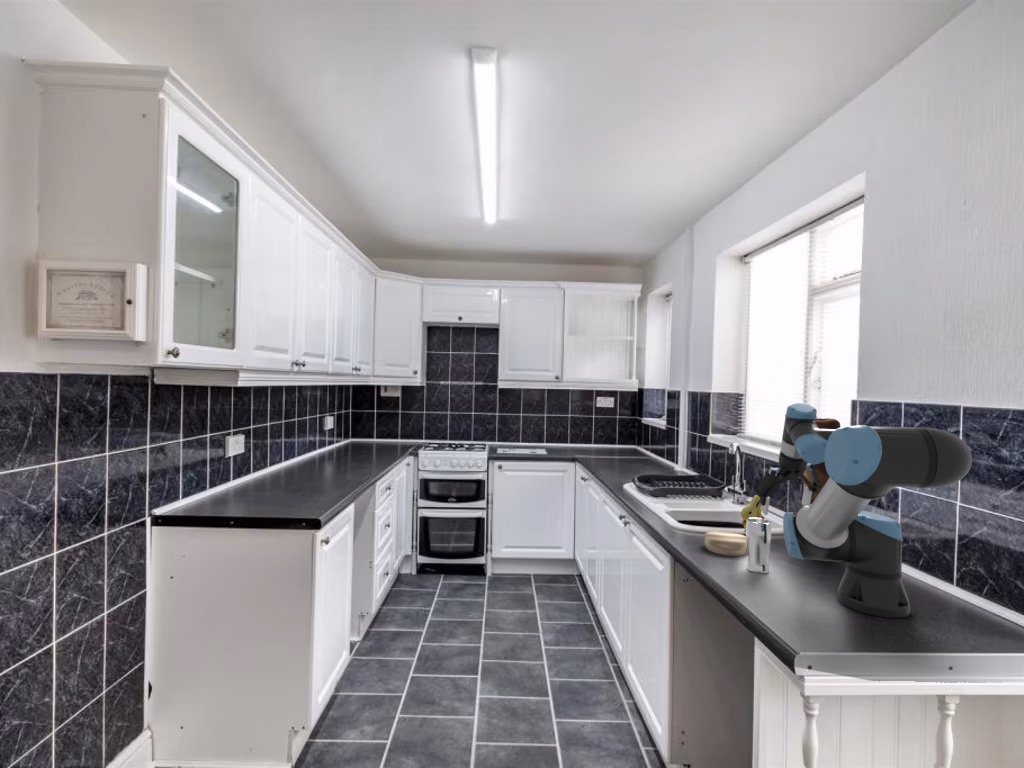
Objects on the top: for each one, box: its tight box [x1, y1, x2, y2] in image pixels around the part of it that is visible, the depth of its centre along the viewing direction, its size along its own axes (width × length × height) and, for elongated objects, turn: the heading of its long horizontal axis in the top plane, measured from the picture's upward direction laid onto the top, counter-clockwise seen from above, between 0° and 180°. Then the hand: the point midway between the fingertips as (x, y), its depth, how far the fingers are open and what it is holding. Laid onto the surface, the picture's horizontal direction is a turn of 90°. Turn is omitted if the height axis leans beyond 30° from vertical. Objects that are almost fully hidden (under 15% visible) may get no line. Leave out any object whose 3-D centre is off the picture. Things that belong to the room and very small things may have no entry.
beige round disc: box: [704, 530, 748, 557], centre depth 174 cm, size 14×14×4 cm
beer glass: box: [746, 518, 772, 575], centre depth 154 cm, size 7×7×15 cm
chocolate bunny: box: [740, 494, 766, 536], centre depth 189 cm, size 7×11×15 cm, turn 88°
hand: (784, 509), depth 160 cm, fingers open, 13 cm apart
